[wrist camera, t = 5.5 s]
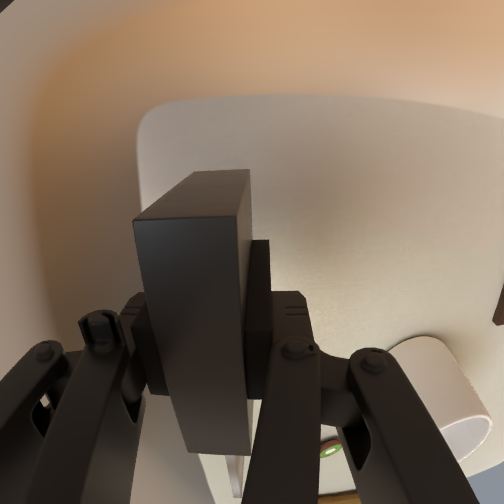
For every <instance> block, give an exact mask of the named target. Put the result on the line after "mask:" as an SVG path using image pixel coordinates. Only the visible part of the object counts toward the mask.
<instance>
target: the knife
mask: <svg viewBox="0 0 504 504" xmlns="http://www.w3.org/2000/svg"><path fill="white" fill-rule="evenodd" d="M132 223H133V229H134V236H135V242H136V248H137V254H138V260H139V266H140V271H141V276H142V282H143V287H144V292H145V297H146V302H147V306H148V311H149V316H150V320H151V325H152V329H153V333H154V337H155V342H156V346H157V350H158V354H159V358H160V361H161V365H162V369H163V373H164V376H165V380H166V384H167V387H168V391H169V394H170V398H171V401H172V404H173V408H174V411H175V414H176V417H177V420H178V424H179V427H180V430H181V433H182V436H183V439H184V442H185V445H186V448H187V451H188V452H189V453H200V454H214V455H225V457H226V462H227V468H228V473H229V478H230V482H231V487H232V492H233V497H234V498H242V484H243V469H244V456H250V455H251V445H252V423H253V400H250V399H248V396H247V380H246V364H245V347H244V320H245V310H246V299H247V289H248V278H249V267H250V257H251V246H252V213H251V183H250V170H249V169H243V170H217V171H197V172H193V173H192V174H190V175H189V176H188V177H186V178H185V179H184V180H182V181H181V182H180V183H179V184H177V185H176V186H175V187H173V188H172V189H171V190H169V191H168V192H167V193H166V194H164V195H163V196H162V197H161V198H159V199H158V200H157V201H155V202H154V203H153V204H152V205H150V206H149V207H148V208H147V209H146V210H144V211H143V212H142V213H141V214H139V216H137V217H136V218H135V219H133V221H132Z"/></svg>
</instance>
